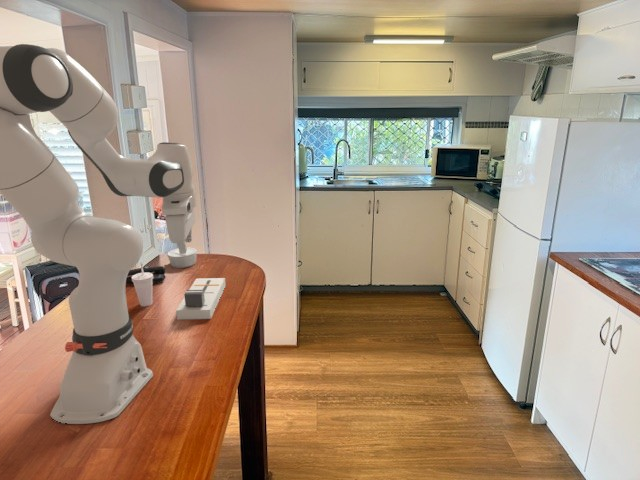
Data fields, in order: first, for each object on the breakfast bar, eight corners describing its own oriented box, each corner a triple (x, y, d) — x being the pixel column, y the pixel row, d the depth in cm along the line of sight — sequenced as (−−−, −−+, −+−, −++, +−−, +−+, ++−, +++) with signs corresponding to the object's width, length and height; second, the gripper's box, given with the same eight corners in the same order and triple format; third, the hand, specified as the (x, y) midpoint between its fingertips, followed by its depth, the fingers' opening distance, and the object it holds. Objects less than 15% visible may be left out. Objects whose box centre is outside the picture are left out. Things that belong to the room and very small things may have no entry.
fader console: (210, 318, 128) (210, 309, 127) (177, 319, 128) (175, 310, 127) (225, 285, 151) (225, 277, 150) (197, 286, 150) (196, 278, 150)
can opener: (168, 276, 160) (167, 262, 158) (164, 284, 153) (162, 269, 151) (119, 279, 158) (116, 264, 156) (112, 286, 151) (110, 272, 150)
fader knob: (202, 306, 128) (201, 293, 127) (185, 306, 128) (184, 293, 127) (205, 301, 131) (203, 289, 130) (188, 302, 131) (186, 289, 130)
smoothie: (160, 299, 141) (155, 259, 136) (151, 308, 134) (145, 267, 130) (141, 299, 141) (135, 259, 137) (131, 307, 135) (125, 266, 131)
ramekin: (165, 269, 166) (163, 257, 164) (172, 259, 177) (171, 247, 175) (195, 268, 167) (193, 255, 165) (200, 258, 177) (199, 246, 176)
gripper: (175, 192, 129) (181, 236, 134) (160, 211, 110) (167, 261, 115) (196, 191, 130) (201, 234, 135) (185, 209, 111) (192, 259, 116)
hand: (186, 247), depth 125 cm, fingers open, 8 cm apart
